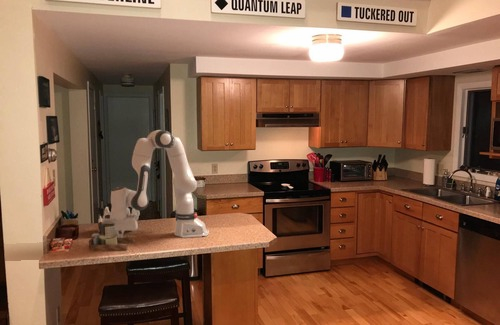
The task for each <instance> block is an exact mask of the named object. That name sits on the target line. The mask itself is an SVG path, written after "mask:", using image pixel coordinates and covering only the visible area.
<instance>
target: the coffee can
mask: <svg viewBox="0 0 500 325" xmlns="http://www.w3.org/2000/svg"><path fill="white" fill-rule="evenodd" d="M97 224H98V225H97V227H98V229H97V230H98V233H99V245H117V244H118V243H117V237H118V235H117V234H116V231H115V230H114V225H115V224H102V222H99V221H98V223H97Z"/></svg>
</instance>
